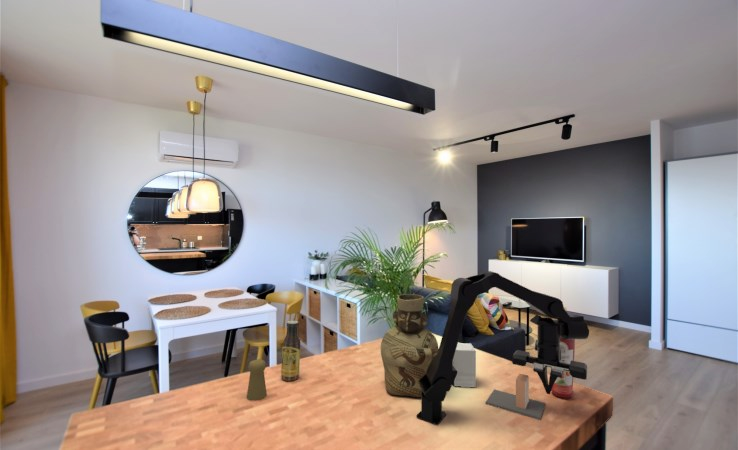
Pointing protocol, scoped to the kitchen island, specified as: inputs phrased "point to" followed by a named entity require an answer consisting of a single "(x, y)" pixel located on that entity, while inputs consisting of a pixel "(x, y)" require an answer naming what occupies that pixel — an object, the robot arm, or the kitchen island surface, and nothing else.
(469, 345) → the supplement box
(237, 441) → the kitchen island surface
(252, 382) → the pepper mill
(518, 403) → the slab
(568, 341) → the liquor
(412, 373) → the ceramic vessel
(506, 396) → the mat
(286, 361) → the sauce bottle
